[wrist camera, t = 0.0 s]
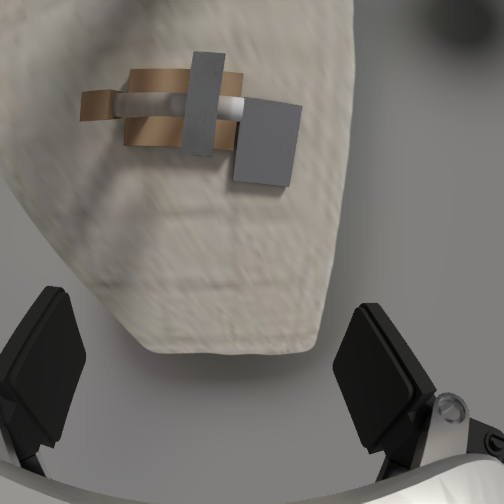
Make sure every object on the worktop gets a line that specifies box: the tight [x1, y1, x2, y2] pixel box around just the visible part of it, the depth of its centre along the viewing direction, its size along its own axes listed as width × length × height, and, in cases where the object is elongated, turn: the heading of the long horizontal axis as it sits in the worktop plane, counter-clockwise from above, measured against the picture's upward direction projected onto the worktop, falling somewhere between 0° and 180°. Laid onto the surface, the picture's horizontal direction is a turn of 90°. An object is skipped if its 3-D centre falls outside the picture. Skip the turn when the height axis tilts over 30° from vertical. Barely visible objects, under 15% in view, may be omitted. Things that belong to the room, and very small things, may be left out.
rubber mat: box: [233, 97, 302, 187], centre depth 35 cm, size 11×8×1 cm
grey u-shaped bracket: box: [180, 51, 225, 157], centre depth 23 cm, size 8×2×11 cm, turn 173°
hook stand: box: [80, 69, 244, 151], centre depth 25 cm, size 14×10×16 cm
